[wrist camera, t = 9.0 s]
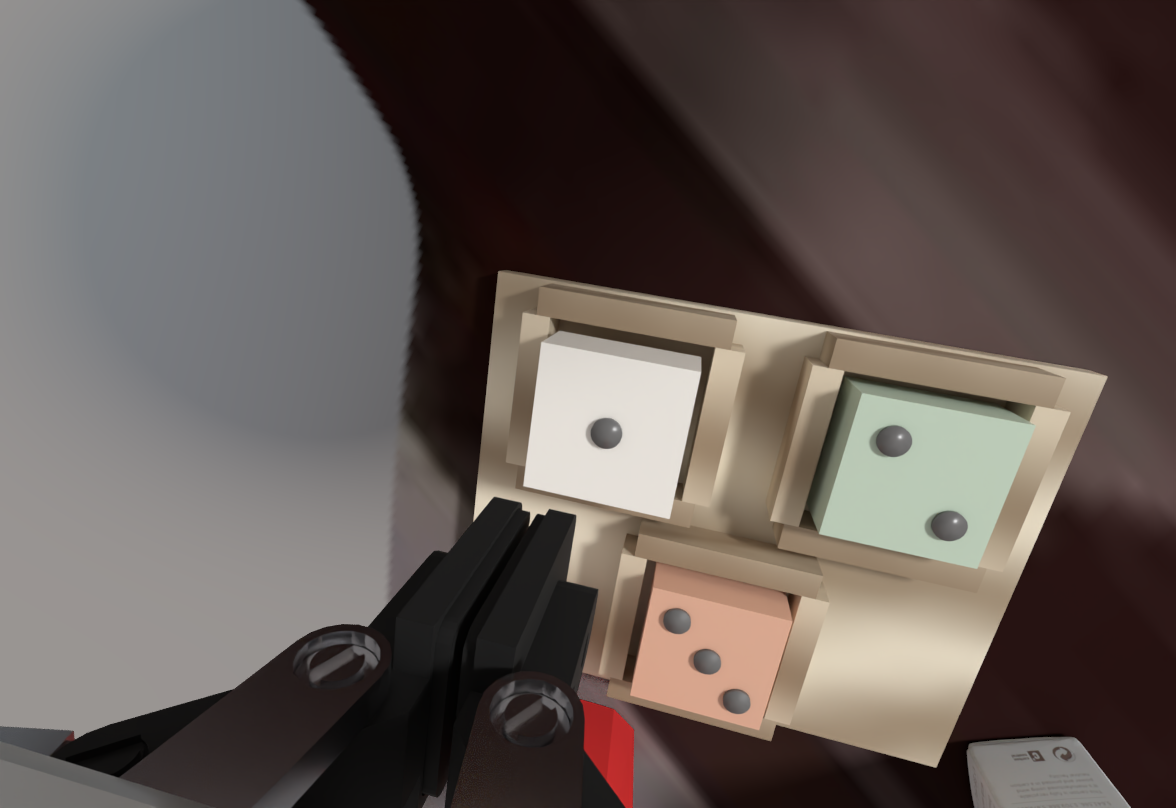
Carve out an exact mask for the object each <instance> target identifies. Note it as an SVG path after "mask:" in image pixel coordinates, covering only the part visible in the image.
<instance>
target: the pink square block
mask: <svg viewBox="0 0 1176 808" xmlns="http://www.w3.org/2000/svg"><path fill="white" fill-rule="evenodd" d="M792 622H793V621H792V617H791V612H790V608H789V604H788V600H787V596H786V592H782V591H778V590H774V589H770V588H765V587H761V586H757V585H753V584H749V583H744V582H740V581H736V580H732V579H727V578H723V577H719V576H715V575H711V574H706V573H702V572H698V571H694V570H689V569H685V568H681V567H677V566H673V565H668V564H664V563H660V562H656V565H655V570H654V575H653V579H652V584H651V589H650V593H649V598H648V603H647V607H646V612H645V617H644V622H643V626H642V631H641V636H640V640H639V645H638V650H637V655H636V661H635V667H634V674H633V680H632V686H631V693H630V695H631V696H634V697H638V698H642V699H645V700H649V701H653V702H656V703H660V704H664V705H667V706H671V707H675V708H678V709H682V710H686V711H689V712H693V713H697V714H700V715H704V716H708V717H712V718H715V719H719V720H723V721H726V722H730V723H734V724H737V725H741V726H745V727H748V728H752V729H756V730H759V729H760V726H761V723H762V719H763V716H764V713H765V710H766V706H767V703H768V700H769V697H770V693H771V690H772V687H773V684H774V680H775V677H776V674H777V671H778V667H779V664H780V661H781V658H782V654H783V651H784V648H785V645H786V641H787V638H788V635H789V632H790V628H791V625H792Z"/></svg>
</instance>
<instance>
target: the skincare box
mask: <svg viewBox="0 0 1176 808" xmlns="http://www.w3.org/2000/svg"><path fill="white" fill-rule="evenodd" d="M967 762H968V770H969V779H970V786H971V792H972V798H973V803H974V808H1131V807H1130V806H1129V805H1128V803H1127V802H1126V801H1125V800H1124V798H1123V797H1122V796H1121V794H1120V793H1119V792H1118V790H1117V789H1116V788H1115V787H1114V785H1113V784H1112V783H1111V782H1110V780H1109V779H1108V778H1107V776H1106V775H1105V774H1104V773H1103V771H1102V770H1101V769H1100V767H1099V766H1098V765H1097V764H1096V762H1095V761H1094V760H1093V758H1092V757H1091V756H1090V755H1089V753H1088V752H1087V751H1086V749H1085V748H1084V747H1083V746H1082V744H1081V743H1080V742H1079V741H1078V740H1077V739H1076V738H1074V737H1035V738H1023V739H1007V740H995V741H985V742H976V743H970V744H969V746H968V750H967Z"/></svg>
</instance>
